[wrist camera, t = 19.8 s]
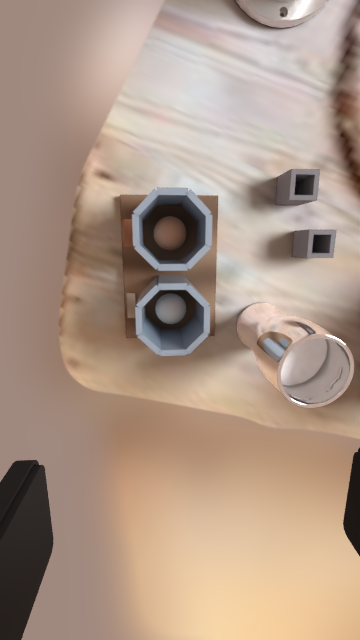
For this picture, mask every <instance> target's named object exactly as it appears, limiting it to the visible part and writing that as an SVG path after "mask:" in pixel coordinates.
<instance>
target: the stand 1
mask: <svg viewBox="0 0 360 640" xmlns="http://www.w3.org/2000/svg"><path fill="white" fill-rule="evenodd" d="M319 175H320V169H291V170H289V171H287V172H286V173H284V174H282V175H280V176H278V178H277V192H276V205H301V204H305V203H309V202H312V201H316V200H317V195H318V185H319ZM295 182H298V191H297V195H294V193H295Z"/></svg>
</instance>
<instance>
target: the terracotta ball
mask: <svg viewBox="0 0 360 640" xmlns="http://www.w3.org/2000/svg"><path fill="white" fill-rule="evenodd" d="M154 239H155V241H156V243H157V244H158V245H159V246H160V247H161V248H163V249H165V250H175V249H177V248H179V247H180V246H181V245H182V244H183V243H184V241H185V239H186V228H185V226H184V224H183V223H182V221H181V220H179V219H178V218H176V217H172V216H167V217H164V218H162V219H160V220H159V221H158V222H157V223H156V225H155V227H154Z"/></svg>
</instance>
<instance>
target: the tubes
mask: <svg viewBox="0 0 360 640" xmlns="http://www.w3.org/2000/svg"><path fill="white" fill-rule="evenodd" d="M158 206H181V207H182V208H183V209H184V210H185V211H186V212H187V213H188V214H189V215H190V216H191V217H192V218H193V219H194V221H195V222H196V244H195V245H194V246H193V248H192V249H191V250H190V251H189V252H188V253H187V254H186V255H185V256H184V257H183V258H182V259H181V260H159V259H158V258H157V257H156V256H155V255H154V254H153V253H152V252H151V251H150V250H149V249H148V248H147V247H146V246H145V245H144V223H143V222H144V221H145V220H146V219H147V218H148V216H149V215H150V214H151V213H152V212H153V211H154V210H155V209H156V208H157V207H158ZM133 213H134V214H132V229H133V246H136V247H135V248H134V249H135V250H136V251H137V252H138V253H139V254H140V255H141V256H142V257H143V258H144V259H145V260H146V261H147V262H148V263H149V264H151V265H152V266H153V267H154V268H155V269H157V268H158V271H188V269H191V268H192V267H193V266H194V265H195V264H196V263H197V262H198V261H199V260H200V259H201V258H202V257H203V256H204V255H205V254H206V253H207V252H208V251H209V250H210V249H211V248H210V247H209V246H212V215H209V214H210V213H211V211H210V210H209V209H208V208H207V207H206V206H205V205H204V203H203V202H202V201H201V200H200V199H199V198H198V197H197V196H196V195H195V194H194V192H193V191H192V190H191V189H190V190H189V191H188V188H157V191H156V190H155V189H154V190H153V191H152V192H151V193H150V194H149V195H148V196H147V197H146V198H145V199H144V200H143V201H142V203H141V204H140V205H139V206H138V207H137V208H136V209H135V210H134V211H133ZM159 290H187V291H188V292H189V293H190V294H191V295H192V296H193V297H194V298H195V315H194V316H193V317H192V318H191V319H190V320H189V321H188V322H187V323H186V324H185V325H183V326H182V327H181V328H171V329H160V328H159V327H158V326H157V325H156V324H155V323H154V322H153V321H152V320H151V319H150V318H149V317H148V316H146V303H147V302H148V301H149V300H150V299H151V298H152V297H153V296H154V295H155V294H156V293H157V292H158V291H159ZM135 315H136V335H137V337H138V338H139V339H140V340H141V341H142V342H143V343H145V344H146V345H147V346H148V347H149V348H150V349H151V350H152V351H153V352H154V353H156V354H157V355H158V354H159V353H160V356H180V355H187V353H188V354H190V353H191V352H192V351H193V350H194V349H195V348H196V347H197V346H198V345H199V344H200V343H202V342H203V341H204V340H205V339H206V338H207V337H208V336H209V335H208V334H210V305H209V303H208V302H207V301H206V299H205V298H204V297H203V296H202V294H201V293H200V292H199V291H198V290H197V289H196V288H195V287H194V286H193V285H192V284H191V283H190V282H189V281H188V280H187V279H186V278H185V277H184V276H182V275H159V277H158V276H156V277H155V278H154V279H153V280H152V281H151V282H150V284H149V285H148V286H147V287H146V288H145V289H144V290H143V291H142V292H141V294H140V296H139V299H138V301H137V304H136V307H135Z"/></svg>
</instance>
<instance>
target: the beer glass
mask: <svg viewBox="0 0 360 640" xmlns="http://www.w3.org/2000/svg"><path fill="white" fill-rule="evenodd" d="M237 333H238V336H239V338H240V340H241V341H242V342H243V343H244V344H245V345H247V346H248V347H250V348H252V352H253V355H254V358H255V360H256V362H257V364H258V366H259V368H260V370H261V371H262V373H263V374H264V376H265V377H266V378H267V379H268V380H269V381H270V383H271V384H272V385H273V386H274V387H275V388H276V389H277V390H278V391H280V392H281V393H282V394H283V396H284V397H285V398H286V399H287V400H288V401H290V402H291V403H293V404H295V405H297V406H300V407H305V408H316V407H321V406H324V405H327V404H329V403H331V402H333V401H335V400H336V399H337V398H339V397H340V396H341V395H342V394H343V393H344V392H345V391H346V389H347V388H348V386H349V385H350V383H351V380H352V378H353V374H354V359H353V355H352V353H351V351H350V349H349V348H348V346H347V345H346V344H345V343H344V342H343V341H342V340H340V339H338V338H337V337H335V336H334V335H332V334H331V333H330V332H328V331H327V330H325V329H324V328H322V327H320V326H319V325H317V324H315V323H313V322H311V321H309V320H307V319H304V318H301V317H297V316H293V315H286V314H281V312H280V311H279V310H278V309H277V308H276V307H274V306H273V305H271V304H268V303H256V304H253V305H250V306H249V307H247V308H246V309H245V310H244V311H243V312H242V313H241V314H240V316H239V318H238V321H237Z"/></svg>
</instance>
